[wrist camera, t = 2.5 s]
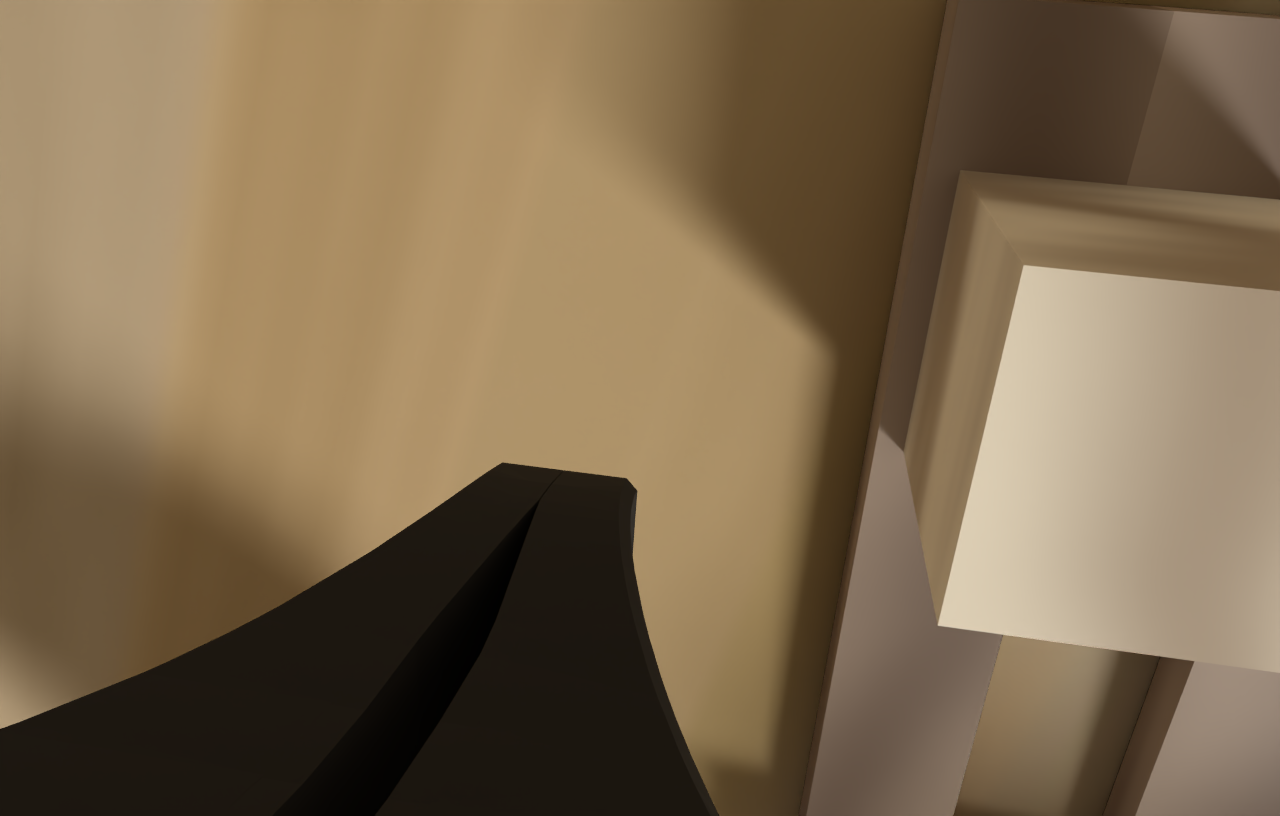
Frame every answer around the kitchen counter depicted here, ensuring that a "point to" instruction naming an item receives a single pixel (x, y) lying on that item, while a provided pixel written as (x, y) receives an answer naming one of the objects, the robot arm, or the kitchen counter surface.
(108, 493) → the kitchen counter surface
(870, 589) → the board
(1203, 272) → the block
